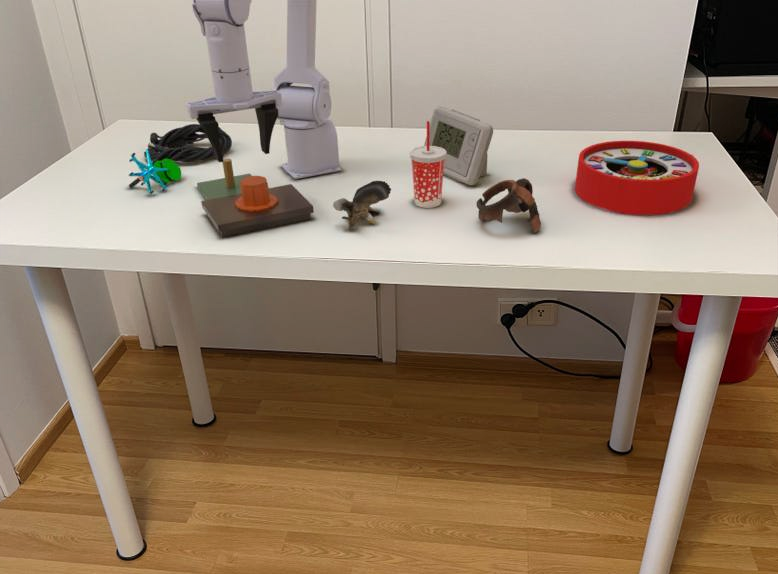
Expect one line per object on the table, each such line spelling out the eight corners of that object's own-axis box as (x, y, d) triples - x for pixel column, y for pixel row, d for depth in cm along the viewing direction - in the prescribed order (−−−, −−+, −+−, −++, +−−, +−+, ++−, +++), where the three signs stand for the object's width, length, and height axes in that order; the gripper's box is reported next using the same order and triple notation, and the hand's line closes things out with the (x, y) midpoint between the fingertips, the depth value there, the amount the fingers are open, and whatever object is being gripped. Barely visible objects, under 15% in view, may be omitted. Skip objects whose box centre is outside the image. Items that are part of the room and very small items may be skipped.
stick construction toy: (147, 189, 130) (127, 148, 129) (123, 207, 133) (103, 167, 133) (193, 185, 140) (175, 147, 140) (170, 202, 144) (152, 165, 143)
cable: (237, 141, 157) (234, 121, 155) (226, 165, 146) (223, 143, 143) (156, 143, 157) (152, 123, 154) (138, 167, 145) (134, 145, 143)
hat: (269, 192, 127) (267, 170, 125) (282, 206, 122) (280, 183, 120) (231, 200, 125) (227, 177, 122) (242, 214, 120) (239, 191, 117)
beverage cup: (427, 192, 132) (427, 113, 124) (452, 202, 129) (454, 121, 121) (402, 202, 129) (401, 121, 121) (428, 212, 125) (428, 129, 117)
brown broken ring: (536, 244, 116) (512, 202, 111) (486, 256, 122) (461, 217, 118) (557, 198, 122) (535, 157, 118) (509, 212, 129) (486, 173, 124)
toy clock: (684, 189, 116) (562, 168, 125) (677, 224, 120) (558, 201, 128) (710, 150, 131) (599, 134, 139) (703, 182, 134) (594, 164, 142)
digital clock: (417, 162, 145) (417, 107, 139) (458, 155, 148) (460, 101, 142) (454, 191, 133) (456, 132, 126) (498, 183, 135) (502, 125, 129)
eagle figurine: (380, 229, 117) (401, 199, 123) (353, 193, 114) (376, 164, 120) (348, 245, 122) (369, 214, 128) (321, 210, 119) (344, 181, 125)
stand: (292, 197, 132) (291, 183, 130) (314, 219, 124) (313, 205, 122) (203, 214, 126) (200, 200, 125) (220, 239, 118) (217, 225, 116)
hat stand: (250, 178, 140) (246, 146, 136) (266, 196, 132) (262, 163, 129) (197, 188, 136) (191, 156, 133) (211, 207, 129) (205, 173, 125)
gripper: (188, 80, 107) (204, 171, 115) (284, 67, 112) (293, 155, 120) (177, 70, 112) (193, 157, 120) (269, 58, 117) (279, 143, 125)
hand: (242, 156), depth 120 cm, fingers open, 7 cm apart
